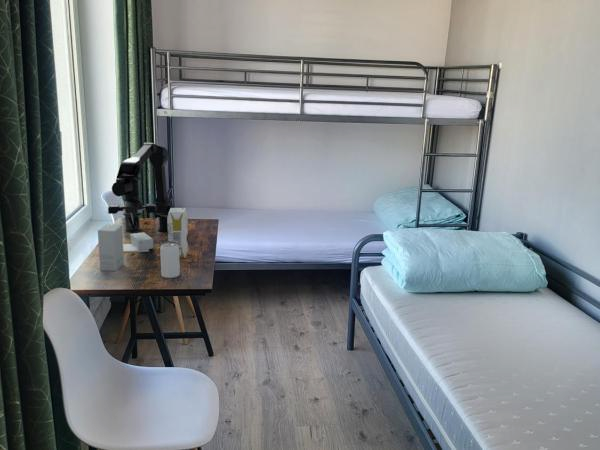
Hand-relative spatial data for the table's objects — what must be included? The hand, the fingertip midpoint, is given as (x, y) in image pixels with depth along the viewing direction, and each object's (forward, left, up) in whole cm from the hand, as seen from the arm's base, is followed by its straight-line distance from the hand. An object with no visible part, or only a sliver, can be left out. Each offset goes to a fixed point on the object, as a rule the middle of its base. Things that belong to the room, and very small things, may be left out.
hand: (133, 228), depth 211 cm
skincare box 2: (-5, +1, -5) cm, 7 cm away
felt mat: (+2, 0, -8) cm, 8 cm away
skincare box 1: (+25, -6, -8) cm, 27 cm away
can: (+37, +15, -8) cm, 41 cm away
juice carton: (+14, +18, -8) cm, 24 cm away
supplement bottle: (-29, -3, -8) cm, 30 cm away
